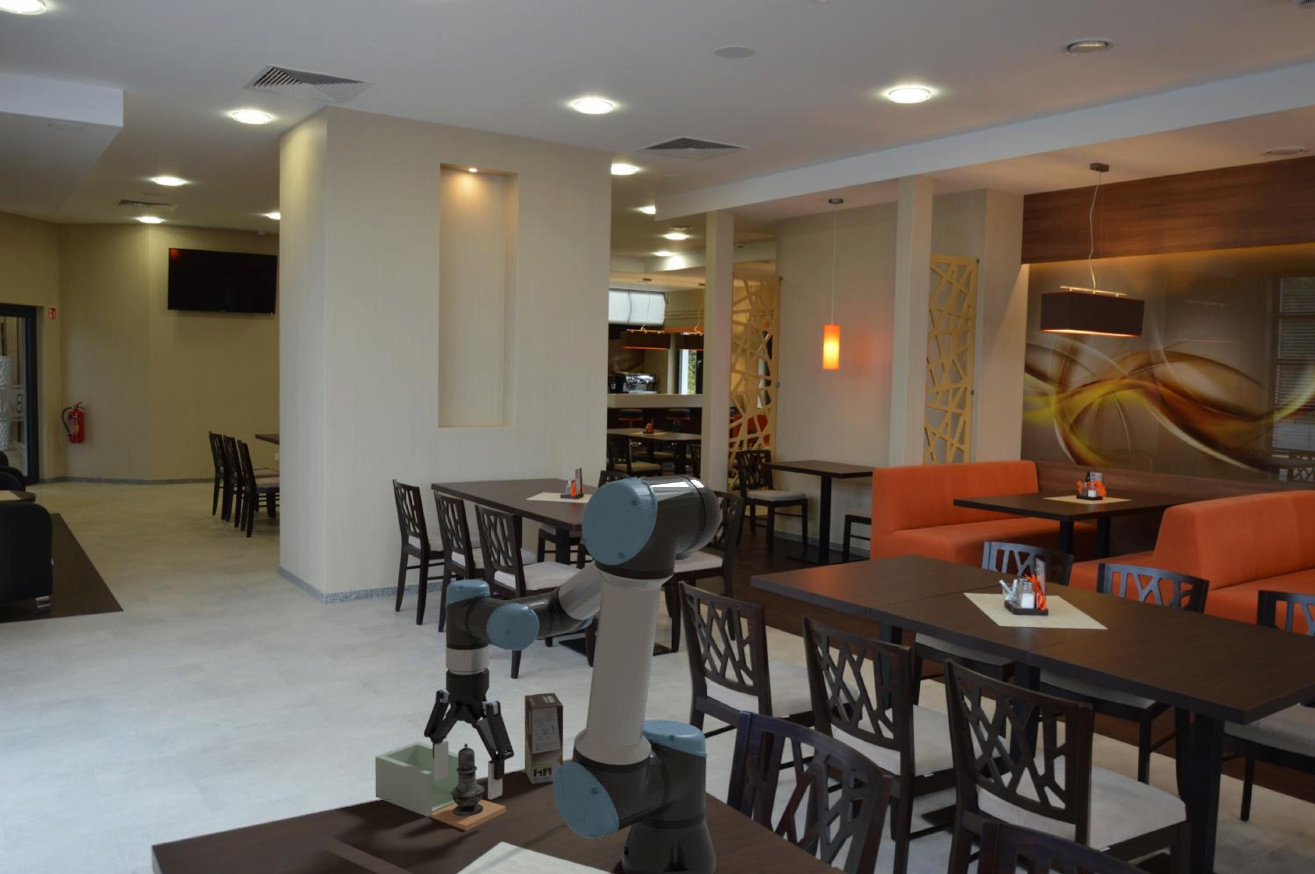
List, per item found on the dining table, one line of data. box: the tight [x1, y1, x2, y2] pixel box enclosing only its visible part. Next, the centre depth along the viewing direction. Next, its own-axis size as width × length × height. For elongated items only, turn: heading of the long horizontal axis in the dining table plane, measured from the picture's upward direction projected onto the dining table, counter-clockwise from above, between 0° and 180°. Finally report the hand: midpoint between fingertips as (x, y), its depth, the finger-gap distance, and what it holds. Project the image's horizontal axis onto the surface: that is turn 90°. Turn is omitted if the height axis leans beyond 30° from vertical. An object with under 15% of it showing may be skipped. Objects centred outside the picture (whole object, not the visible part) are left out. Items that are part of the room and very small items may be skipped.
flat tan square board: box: [429, 798, 507, 832], centre depth 176 cm, size 1×10×9 cm
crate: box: [374, 741, 459, 817], centre depth 183 cm, size 14×10×9 cm
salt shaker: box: [451, 742, 485, 816], centre depth 176 cm, size 6×6×12 cm
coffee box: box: [524, 692, 564, 785], centre depth 195 cm, size 9×6×16 cm
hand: (467, 787), depth 176 cm, fingers open, 13 cm apart
